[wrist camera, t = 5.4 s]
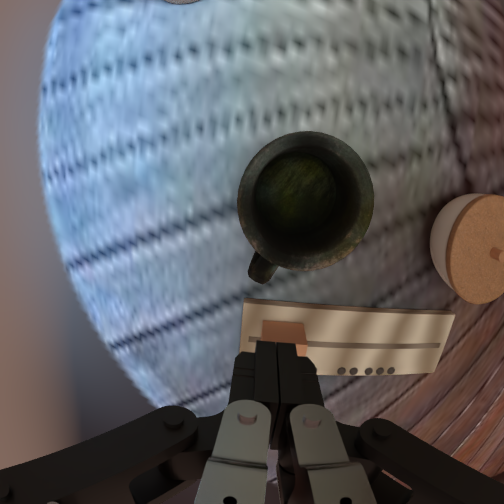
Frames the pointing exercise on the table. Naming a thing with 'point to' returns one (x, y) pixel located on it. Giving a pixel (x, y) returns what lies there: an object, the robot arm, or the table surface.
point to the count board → (356, 336)
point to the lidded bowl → (471, 246)
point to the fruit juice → (180, 1)
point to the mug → (303, 203)
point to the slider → (285, 334)
